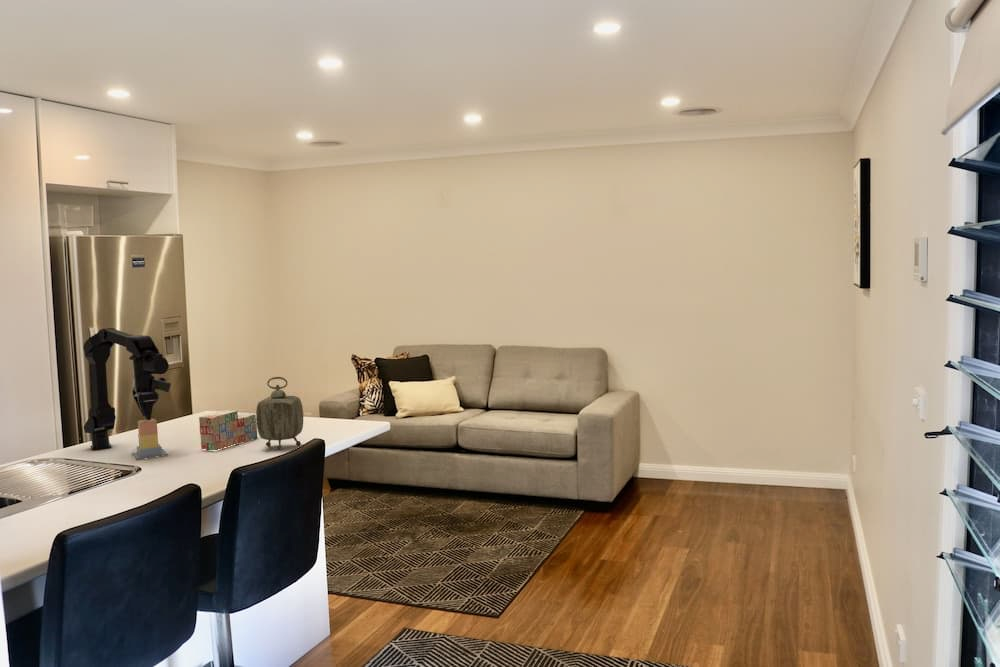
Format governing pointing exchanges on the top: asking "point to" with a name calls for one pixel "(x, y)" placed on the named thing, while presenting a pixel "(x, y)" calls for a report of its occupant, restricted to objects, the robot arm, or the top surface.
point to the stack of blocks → (226, 429)
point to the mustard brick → (148, 441)
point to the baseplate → (148, 452)
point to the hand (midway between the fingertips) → (146, 418)
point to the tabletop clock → (279, 416)
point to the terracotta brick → (147, 427)
